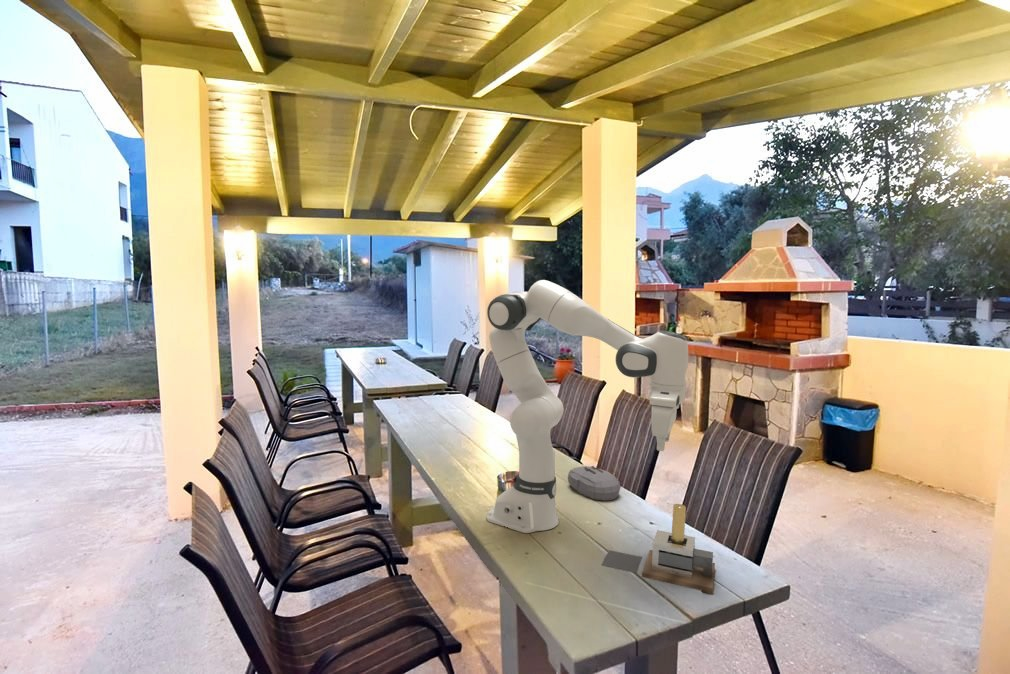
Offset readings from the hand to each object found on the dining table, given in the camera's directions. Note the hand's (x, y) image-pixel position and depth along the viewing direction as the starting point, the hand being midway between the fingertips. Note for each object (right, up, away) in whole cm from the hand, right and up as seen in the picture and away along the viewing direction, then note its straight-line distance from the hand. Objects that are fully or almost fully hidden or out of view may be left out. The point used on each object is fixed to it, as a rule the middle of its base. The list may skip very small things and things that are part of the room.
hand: (663, 445), depth 138 cm
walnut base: (+2, -32, -4) cm, 32 cm away
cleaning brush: (-9, -28, +51) cm, 58 cm away
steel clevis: (+4, -30, -5) cm, 31 cm away
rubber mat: (-11, -31, +1) cm, 33 cm away
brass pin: (+2, -30, -4) cm, 31 cm away
